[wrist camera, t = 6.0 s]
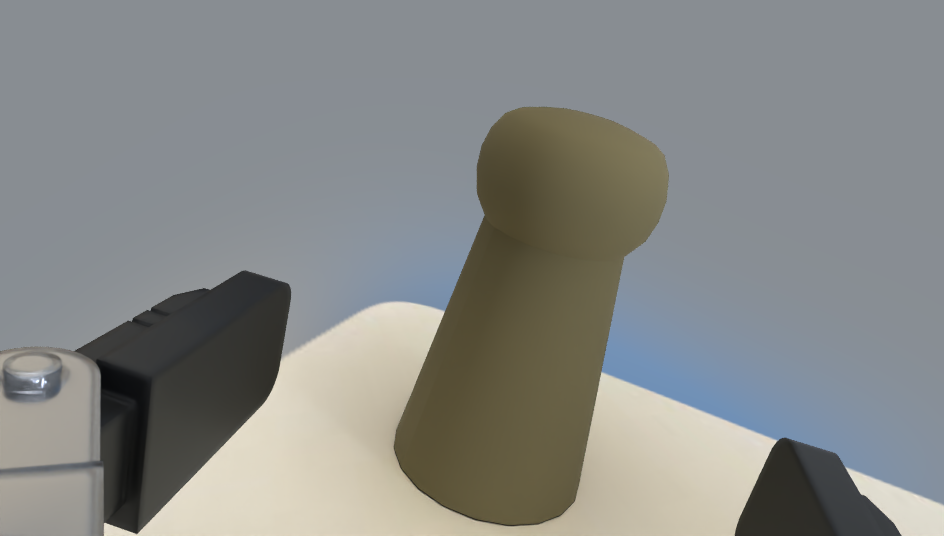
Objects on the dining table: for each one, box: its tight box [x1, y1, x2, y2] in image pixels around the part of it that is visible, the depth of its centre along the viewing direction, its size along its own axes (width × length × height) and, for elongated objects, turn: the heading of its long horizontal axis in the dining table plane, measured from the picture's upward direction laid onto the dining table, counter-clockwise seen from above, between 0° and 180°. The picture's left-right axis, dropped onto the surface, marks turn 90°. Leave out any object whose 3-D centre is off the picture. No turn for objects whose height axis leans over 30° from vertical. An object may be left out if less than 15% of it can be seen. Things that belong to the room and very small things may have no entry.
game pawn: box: [394, 107, 669, 525], centre depth 20 cm, size 6×6×11 cm
